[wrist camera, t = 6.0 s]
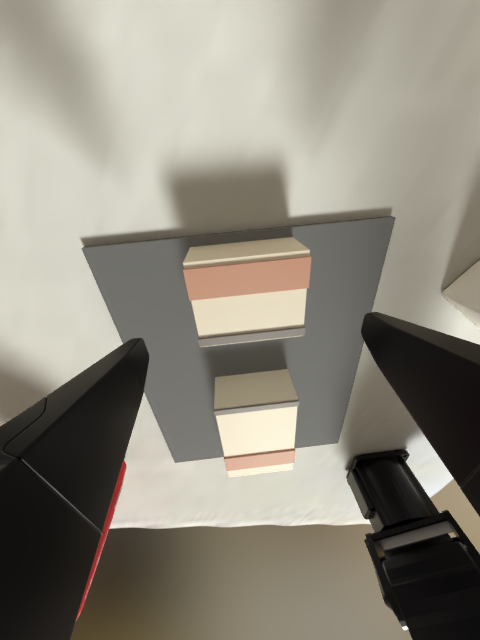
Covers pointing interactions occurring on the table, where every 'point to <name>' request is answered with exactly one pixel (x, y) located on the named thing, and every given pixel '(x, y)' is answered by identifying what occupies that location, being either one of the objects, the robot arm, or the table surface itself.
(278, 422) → the ticket
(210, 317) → the stub
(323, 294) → the mat
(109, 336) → the table surface
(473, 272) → the medicine bottle
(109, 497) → the robot arm
